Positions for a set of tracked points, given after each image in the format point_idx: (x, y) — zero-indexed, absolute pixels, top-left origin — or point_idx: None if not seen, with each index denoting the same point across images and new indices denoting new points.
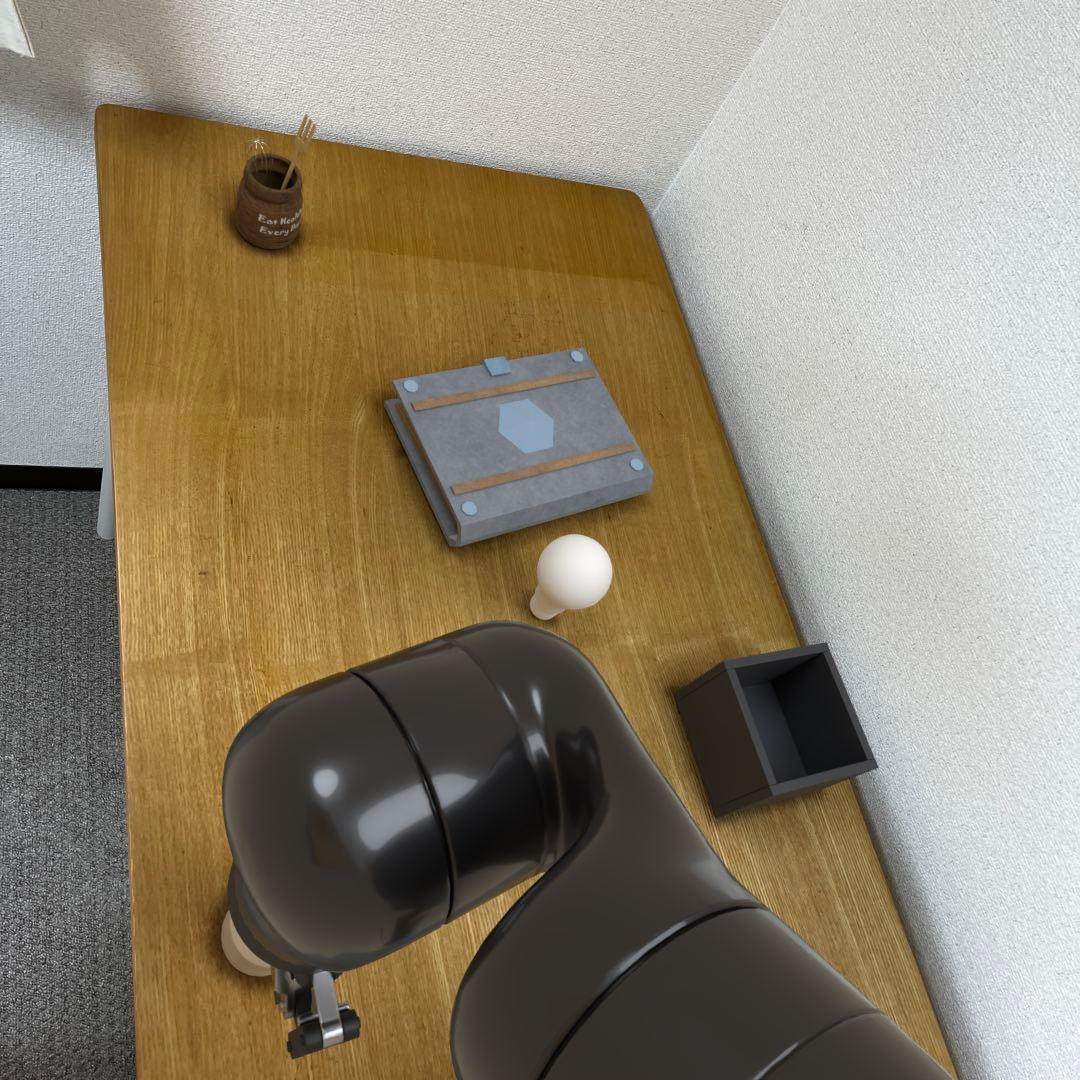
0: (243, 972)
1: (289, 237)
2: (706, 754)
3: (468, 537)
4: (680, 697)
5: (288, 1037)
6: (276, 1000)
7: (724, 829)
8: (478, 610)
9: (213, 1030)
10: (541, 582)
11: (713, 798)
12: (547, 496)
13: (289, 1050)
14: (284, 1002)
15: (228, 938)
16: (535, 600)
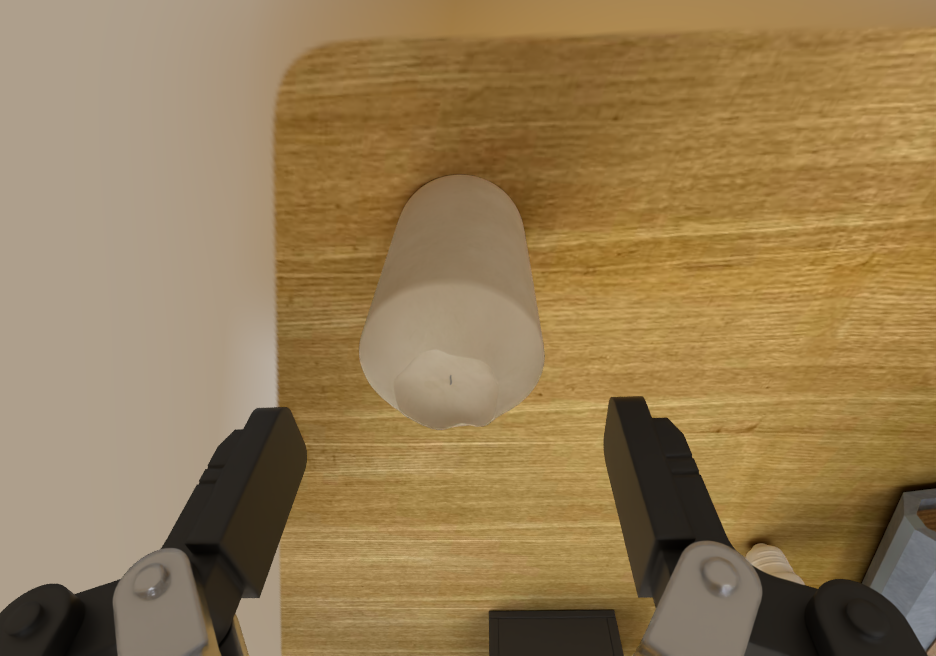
0: (404, 208)
1: None
2: (547, 632)
3: (916, 538)
4: (608, 620)
5: (61, 602)
6: (247, 438)
7: (477, 613)
8: (793, 499)
9: (329, 153)
10: None
11: (506, 618)
12: (915, 614)
13: (7, 629)
14: (134, 634)
15: (437, 244)
16: (781, 568)
